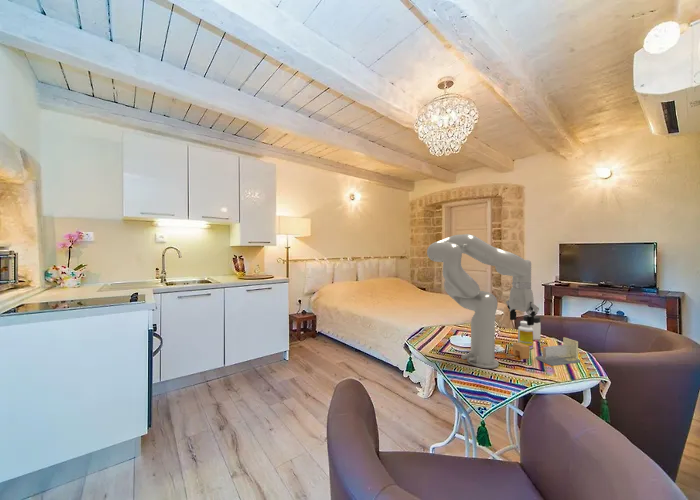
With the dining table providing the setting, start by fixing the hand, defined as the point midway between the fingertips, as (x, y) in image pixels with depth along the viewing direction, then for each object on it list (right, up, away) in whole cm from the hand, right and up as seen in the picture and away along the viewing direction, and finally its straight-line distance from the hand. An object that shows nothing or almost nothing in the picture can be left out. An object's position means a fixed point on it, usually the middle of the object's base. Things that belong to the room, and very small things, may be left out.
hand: (521, 322), depth 133 cm
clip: (0, -16, 0) cm, 16 cm away
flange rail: (+14, -16, -5) cm, 21 cm away
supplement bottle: (+10, -16, +13) cm, 23 cm away
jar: (+23, -16, +29) cm, 41 cm away
